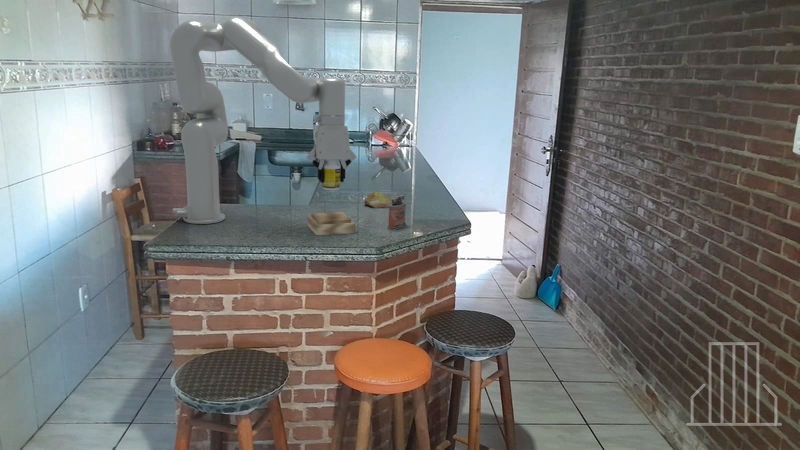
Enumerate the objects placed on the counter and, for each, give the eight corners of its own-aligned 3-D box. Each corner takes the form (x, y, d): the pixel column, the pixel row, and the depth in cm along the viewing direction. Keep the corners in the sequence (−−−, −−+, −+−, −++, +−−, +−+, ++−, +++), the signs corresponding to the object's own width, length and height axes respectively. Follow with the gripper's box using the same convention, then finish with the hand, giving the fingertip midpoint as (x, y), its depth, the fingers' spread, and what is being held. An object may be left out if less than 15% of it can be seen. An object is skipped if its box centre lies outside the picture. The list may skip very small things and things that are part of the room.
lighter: (394, 230, 185) (395, 199, 183) (385, 228, 187) (386, 197, 184) (407, 225, 192) (409, 195, 189) (398, 223, 194) (400, 193, 191)
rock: (365, 208, 224) (356, 201, 215) (372, 191, 225) (363, 183, 216) (395, 218, 220) (387, 212, 211) (401, 200, 221) (394, 193, 212)
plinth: (316, 235, 176) (316, 222, 175) (307, 225, 187) (307, 213, 186) (355, 233, 180) (355, 220, 179) (344, 223, 191) (344, 211, 190)
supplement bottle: (337, 191, 177) (337, 158, 175) (319, 190, 178) (320, 157, 176) (342, 188, 183) (342, 156, 180) (325, 186, 184) (325, 155, 181)
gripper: (305, 122, 169) (306, 185, 173) (363, 122, 175) (362, 183, 180) (300, 119, 176) (300, 180, 180) (356, 120, 182) (355, 178, 186)
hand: (331, 181), depth 180 cm, fingers closed on supplement bottle, 5 cm apart
